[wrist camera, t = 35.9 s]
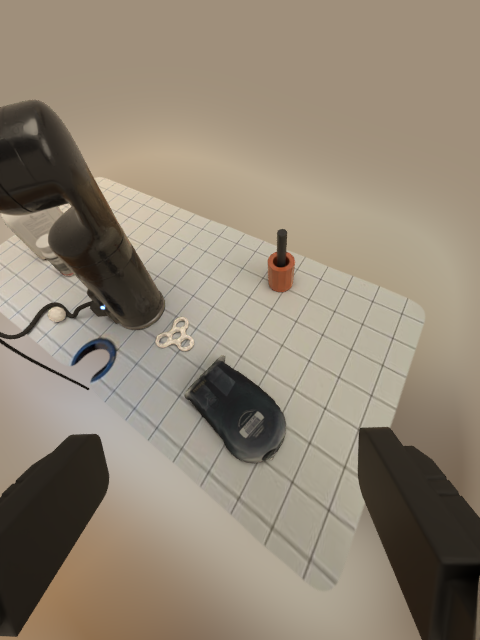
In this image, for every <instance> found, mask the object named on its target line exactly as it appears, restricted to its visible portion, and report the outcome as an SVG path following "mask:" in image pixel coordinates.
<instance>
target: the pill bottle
mask: <svg viewBox="0 0 480 640" xmlns="http://www.w3.org/2000/svg"><path fill="white" fill-rule="evenodd" d="M36 246H37V247H38V248H39V249H40V251H42V254H43V256H44V257H45V258H46V259H47V260H48V261H49V262H50V263H51V264H52V265H53V266H54V267H55V268H56V269H57V270H58V271H60V272H61V273H62V274H63V275H65V276H72V275H74V273H73V272H72V271H71V270H70V269H69V268H68V267H67V266H66V265H65V264H64V263H63V262H62V261H61V260H60V259H59V258H58V257H57V256H56V255H55V253H54V252H53V251H52V250H51V248H50V246H49V244H48V234H45V235H43V236H41V237H40V238H39V239H38V240H37V241H36Z"/></svg>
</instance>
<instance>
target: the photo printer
mask: <svg viewBox="0 0 480 640" xmlns="http://www.w3.org/2000/svg"><path fill="white" fill-rule="evenodd" d="M61 215H63V212H62V211H61V210H60V209H59V207H58V206H57V207H54V208H50V209H47V210H43V211H40V212H36V213H33V214H29V215H21V216H13V215H6V214H2V213H1V216H2V219H3V220H4V222H5V224H6V225H7V226H8V227H9V228H10V229H11V230H12V231H13V232H14V233H15V234H16V235H17V236H18V237H19V238H20V239H21V240H22V241H23V242H24V243H25V244H26V245H27V246H28V247H29V248H30V249H31V250H32V251H33V252H34V253H35V254H36V255H37V256H38V257H39V258H40V259H43V260H44V259H46V258H45V257H44V256H43V254H42V251H40V249H39V248H38V247H37V246H36V241H37V240H38V239H39V238H40V237H41V236H43V235H45V234H49V231H50V229H51V227H52V225H53V224H54V223H55V221H56V220H57V219H58V218H59V217H60V216H61Z"/></svg>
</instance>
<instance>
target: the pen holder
mask: <svg viewBox="0 0 480 640" xmlns="http://www.w3.org/2000/svg"><path fill="white" fill-rule="evenodd" d="M294 266H295V260H294V257H293V256H292V255H291V254H290V253H288V252H286V264H285V267H280V268H279V267H277V252H275V253H273V254H271V255H270V257H269V259H268V283H269V286H270V288H271V289H272V290H274V291H276V292H285V291H287V290H289V289H290V288H291V286H292V284H293V277H294Z"/></svg>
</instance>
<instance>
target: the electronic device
mask: <svg viewBox="0 0 480 640" xmlns="http://www.w3.org/2000/svg"><path fill="white" fill-rule="evenodd" d="M224 362H225V356H223V355H221V356H220V357H219V358H218V359H217V360H216V361H215V362H214V363H213V364H212V365H211V366H210V367H209V368H208V369H207V370H206V371H205V372H204V373H203V374H202V375H201V376H200V378H199V379H198V380H196V381H195V382H194V383H193V384H192V385H191V386H190V387H189V388H188V390H187V391H186V394H185V398H186V399H187V400H190V401H191V403H192V404H193V405H194V406H195V407H196V409H197V410H198V411H199V412H200V413H201V415H202V417H204V418H205V419H206V420H207V422H208V423H209V424H210V425H211V426H212V427H213V429H214V430H215V431H216V432H217V433H218V434H219V436H220V437H221V438H222V439H223V440H224V444H225V445H226V448H227V449H228V450H229V451H230V452H231V453H232V454H233V455H234V456H235V457H236V458H238V459H239V460H241V461H244V462H250V463H258V462H262V461H265V460H268V459H271V460H272V459H273V456H274V455H275V453H276V452H277V451H278V449H279V448H280V446H281V444H282V442H283V440H284V437H285V431H286V422H285V417H284V414H283V413H282V412H281V410H280V408H279V406H278V405H276V403H275V401H274V400H273V399H272V398H271V397H270V396H269V395H268V394H267V393H266V392H264V391H263V390H262V389H261V388H260V387H258V386H257V385H256V384H255V383H253V382H252V381H251V380H249V379H248V378H247V377H245V376H244V375H242V374H241V373H239V372H238V371H236V370H234V369H233V368H231V367H230V366H228V365H227V364H225V363H224Z"/></svg>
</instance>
